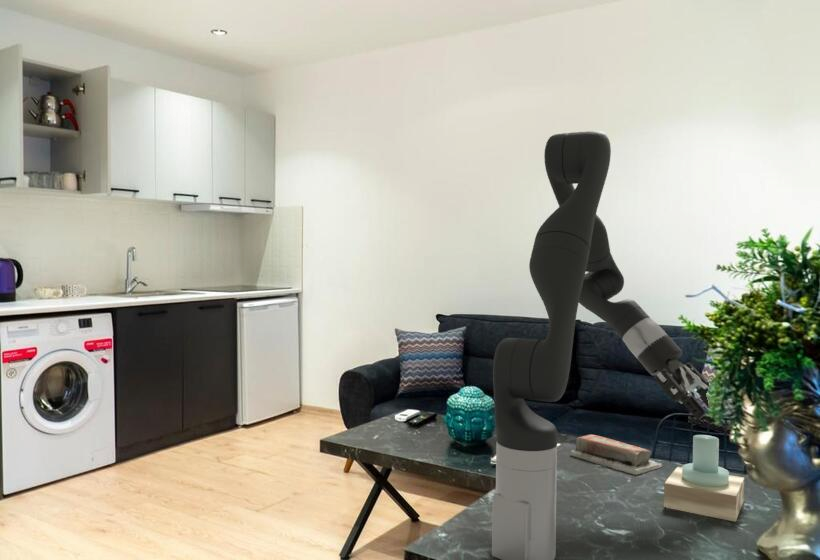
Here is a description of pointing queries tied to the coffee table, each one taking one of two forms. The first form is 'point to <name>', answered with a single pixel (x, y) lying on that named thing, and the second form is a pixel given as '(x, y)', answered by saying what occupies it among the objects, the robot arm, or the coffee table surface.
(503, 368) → the robot arm
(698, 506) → the block
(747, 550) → the coffee table surface
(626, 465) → the packaged product
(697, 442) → the mint green knob
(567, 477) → the coffee table surface
